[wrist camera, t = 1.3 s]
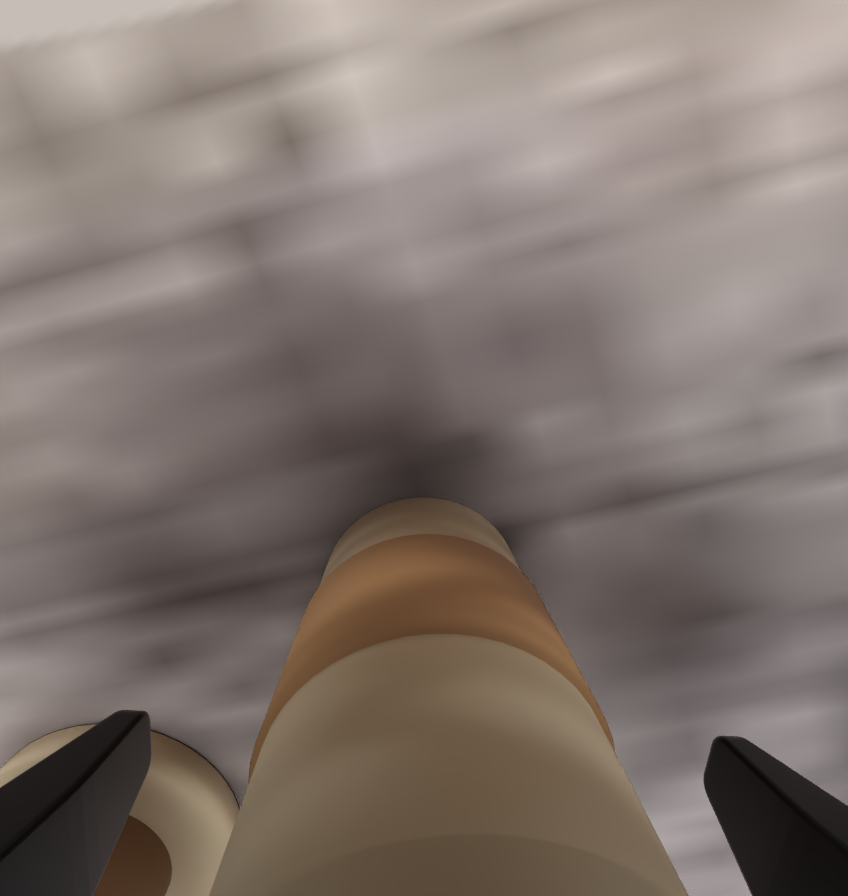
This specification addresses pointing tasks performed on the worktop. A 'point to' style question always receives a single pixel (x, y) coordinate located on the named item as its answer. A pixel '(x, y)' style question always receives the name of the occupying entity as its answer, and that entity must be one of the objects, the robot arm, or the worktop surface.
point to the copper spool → (435, 736)
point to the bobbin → (159, 820)
